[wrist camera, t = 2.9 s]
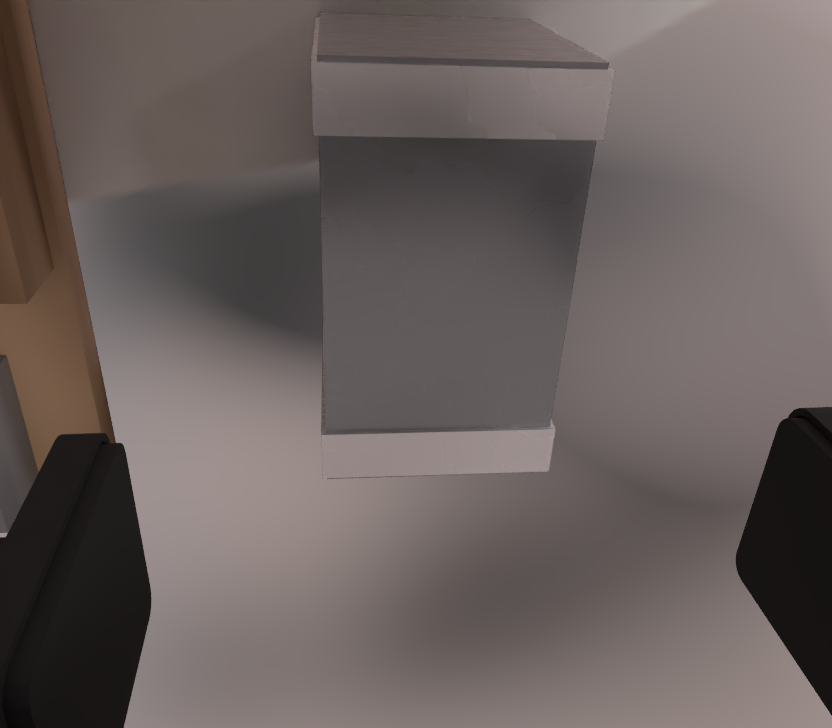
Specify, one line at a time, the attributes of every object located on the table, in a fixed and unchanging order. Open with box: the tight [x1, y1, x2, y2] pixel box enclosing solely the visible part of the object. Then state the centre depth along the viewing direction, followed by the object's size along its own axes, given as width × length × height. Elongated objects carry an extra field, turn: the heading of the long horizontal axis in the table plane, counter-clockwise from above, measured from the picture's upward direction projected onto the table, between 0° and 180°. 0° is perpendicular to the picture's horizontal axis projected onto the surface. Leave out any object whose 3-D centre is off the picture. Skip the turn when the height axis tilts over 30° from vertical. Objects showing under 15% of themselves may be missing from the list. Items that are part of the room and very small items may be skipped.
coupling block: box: [311, 12, 615, 479], centre depth 18 cm, size 5×9×6 cm, turn 178°
